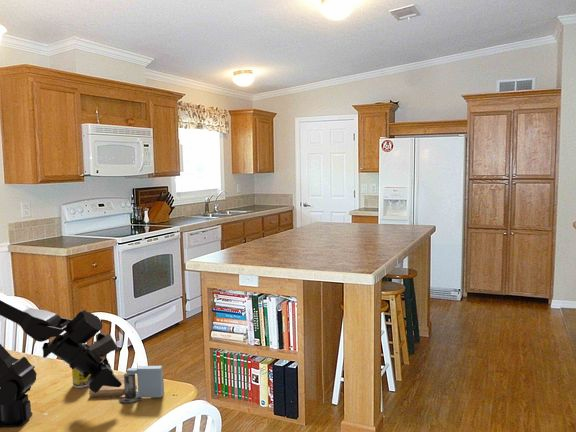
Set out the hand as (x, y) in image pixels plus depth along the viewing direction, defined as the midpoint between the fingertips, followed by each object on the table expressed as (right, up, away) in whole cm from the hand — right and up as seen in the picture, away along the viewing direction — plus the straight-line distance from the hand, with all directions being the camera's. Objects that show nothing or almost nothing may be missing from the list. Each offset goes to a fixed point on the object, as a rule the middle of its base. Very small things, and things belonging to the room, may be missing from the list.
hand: (120, 385), depth 134 cm
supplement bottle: (-17, -5, +16) cm, 24 cm away
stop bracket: (+8, -5, +8) cm, 13 cm away
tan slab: (-4, -5, +10) cm, 12 cm away
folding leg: (+5, -5, +6) cm, 9 cm away
